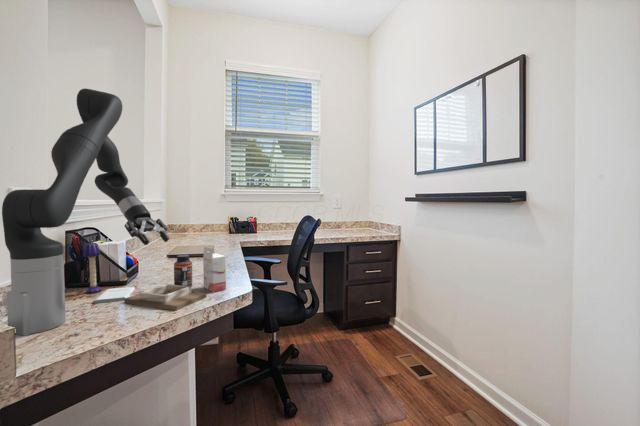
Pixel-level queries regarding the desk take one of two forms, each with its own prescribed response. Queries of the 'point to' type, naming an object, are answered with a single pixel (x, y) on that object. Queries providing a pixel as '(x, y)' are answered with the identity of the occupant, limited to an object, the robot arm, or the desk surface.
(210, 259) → the ink cartridge box
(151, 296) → the rail board
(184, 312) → the desk surface
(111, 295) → the external hard drive
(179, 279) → the supplement bottle
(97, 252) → the toy lamp
